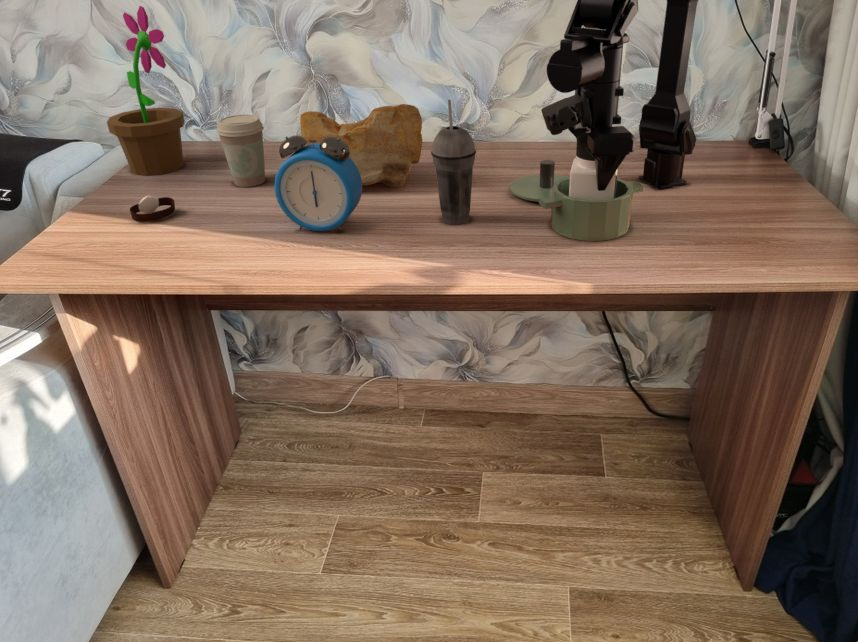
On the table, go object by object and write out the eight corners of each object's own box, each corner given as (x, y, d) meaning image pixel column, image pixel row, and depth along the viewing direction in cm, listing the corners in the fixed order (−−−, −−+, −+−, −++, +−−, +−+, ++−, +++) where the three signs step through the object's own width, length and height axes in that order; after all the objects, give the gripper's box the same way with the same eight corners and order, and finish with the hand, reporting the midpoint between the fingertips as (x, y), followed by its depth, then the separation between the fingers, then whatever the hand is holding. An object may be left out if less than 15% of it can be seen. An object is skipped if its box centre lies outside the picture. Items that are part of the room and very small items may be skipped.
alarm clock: (280, 231, 121) (265, 141, 113) (293, 217, 126) (279, 130, 118) (356, 234, 119) (346, 143, 111) (367, 220, 124) (358, 131, 116)
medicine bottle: (613, 217, 115) (619, 141, 109) (567, 214, 116) (571, 140, 110) (614, 201, 121) (621, 128, 114) (571, 198, 122) (575, 126, 116)
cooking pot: (523, 221, 122) (524, 183, 119) (615, 204, 128) (618, 167, 125) (560, 249, 112) (562, 209, 109) (658, 229, 118) (662, 191, 115)
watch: (170, 207, 131) (165, 188, 129) (182, 214, 128) (177, 194, 126) (128, 219, 127) (122, 199, 125) (139, 226, 124) (133, 206, 122)
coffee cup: (218, 186, 140) (204, 123, 133) (245, 172, 146) (233, 112, 140) (255, 191, 137) (243, 127, 131) (281, 177, 144) (271, 115, 137)
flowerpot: (208, 162, 152) (175, 5, 136) (151, 183, 142) (107, 15, 126) (164, 152, 159) (127, 1, 143) (106, 171, 149) (59, 11, 133)
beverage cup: (482, 213, 125) (481, 94, 115) (469, 230, 120) (466, 105, 109) (443, 209, 128) (438, 91, 117) (427, 225, 122) (421, 102, 111)
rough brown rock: (440, 171, 147) (435, 93, 140) (421, 194, 132) (415, 108, 126) (330, 171, 151) (320, 95, 144) (300, 193, 136) (288, 110, 129)
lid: (497, 185, 137) (497, 156, 134) (560, 175, 141) (562, 146, 138) (530, 210, 126) (530, 179, 123) (597, 198, 131) (600, 167, 128)
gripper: (533, 68, 115) (531, 165, 123) (563, 97, 99) (558, 206, 108) (602, 65, 116) (595, 161, 124) (642, 92, 100) (631, 200, 109)
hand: (593, 181), depth 116 cm, fingers closed on medicine bottle, 8 cm apart
